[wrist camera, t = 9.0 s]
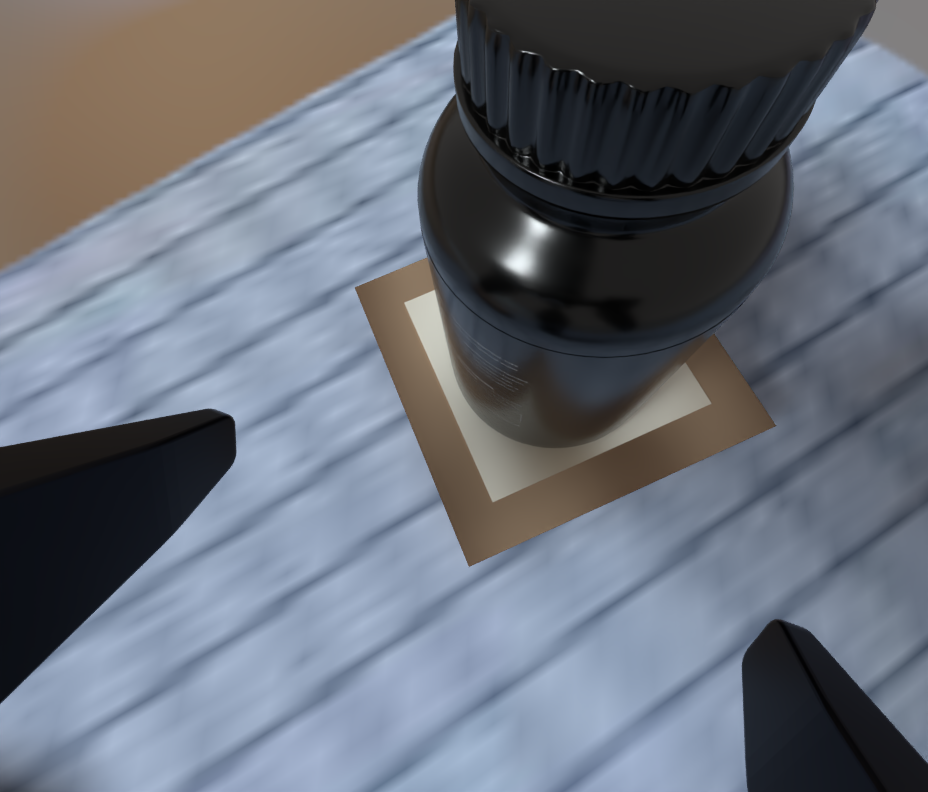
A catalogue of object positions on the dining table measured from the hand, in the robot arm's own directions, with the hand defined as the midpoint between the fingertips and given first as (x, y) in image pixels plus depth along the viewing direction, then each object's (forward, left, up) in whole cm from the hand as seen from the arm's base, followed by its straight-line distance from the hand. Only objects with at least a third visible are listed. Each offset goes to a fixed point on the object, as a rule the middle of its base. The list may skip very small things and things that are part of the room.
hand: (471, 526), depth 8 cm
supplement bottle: (+5, +5, -8) cm, 10 cm away
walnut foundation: (+5, +5, -11) cm, 13 cm away
